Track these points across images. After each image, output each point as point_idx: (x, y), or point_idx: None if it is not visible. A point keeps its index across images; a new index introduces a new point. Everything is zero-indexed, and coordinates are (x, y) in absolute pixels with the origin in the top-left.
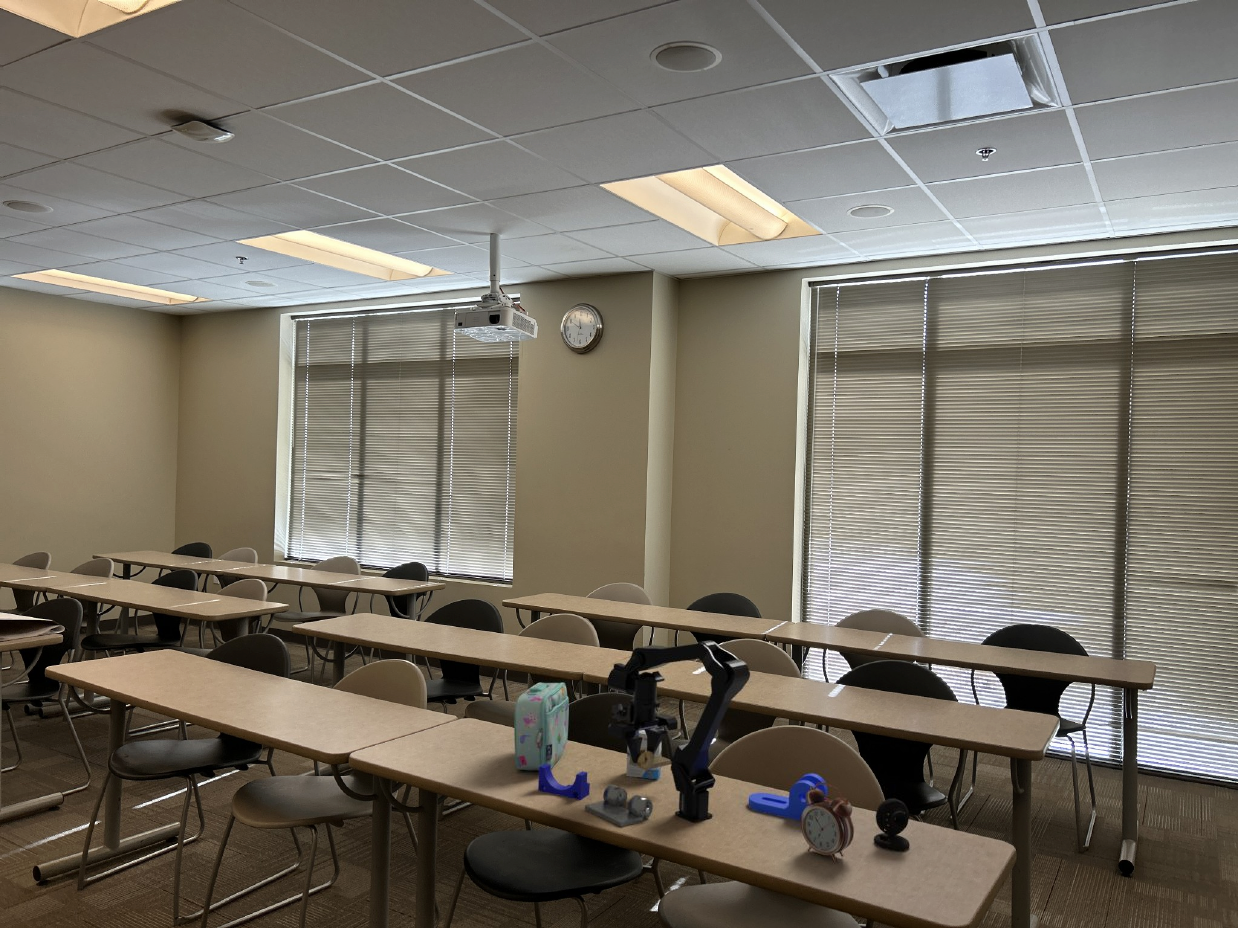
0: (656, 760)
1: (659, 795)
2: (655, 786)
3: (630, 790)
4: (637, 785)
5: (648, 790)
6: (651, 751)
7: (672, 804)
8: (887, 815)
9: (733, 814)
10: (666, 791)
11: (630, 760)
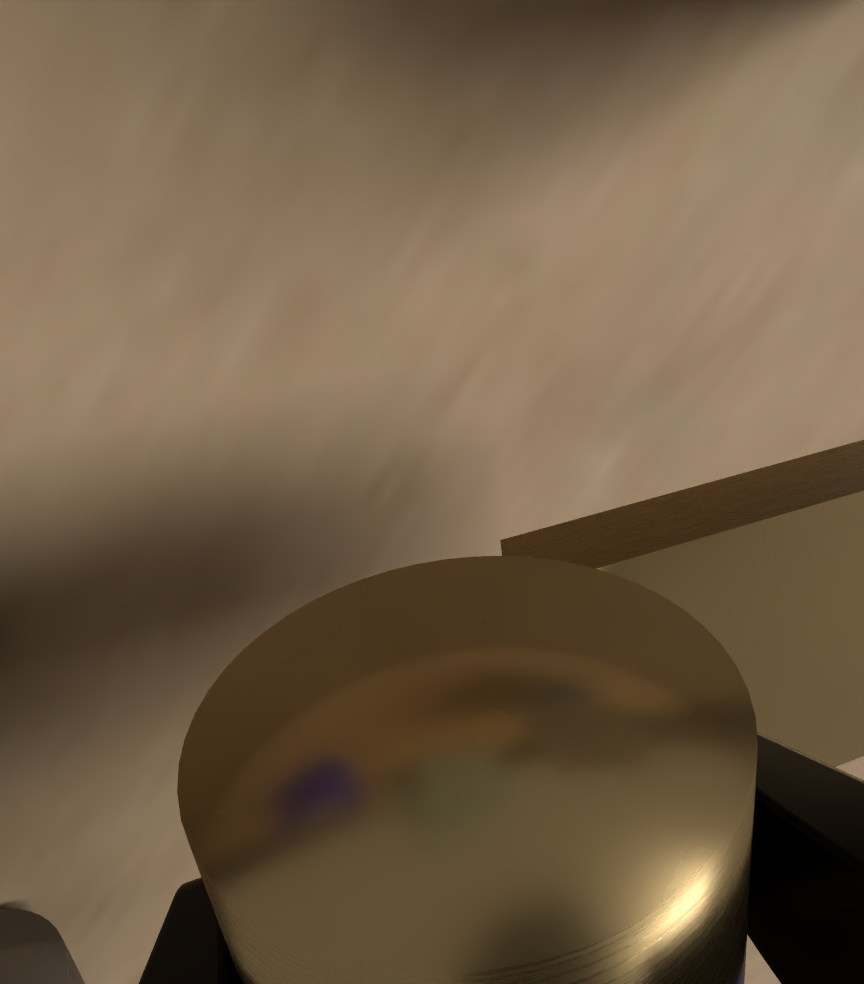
0: (832, 649)
1: (552, 490)
2: (712, 195)
3: (329, 186)
4: (541, 34)
5: (547, 292)
6: (811, 980)
7: None
8: None
9: (748, 967)
10: (697, 404)
11: (190, 754)
